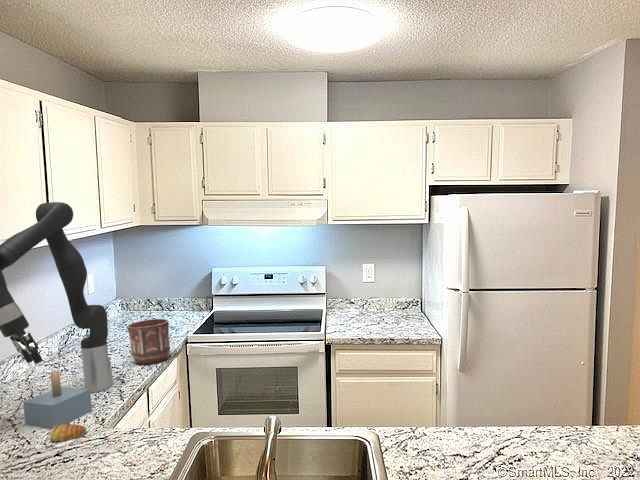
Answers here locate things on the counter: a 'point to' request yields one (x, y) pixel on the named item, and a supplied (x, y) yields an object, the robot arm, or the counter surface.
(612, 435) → the counter surface
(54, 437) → the pastry
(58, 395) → the cover
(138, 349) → the pottery
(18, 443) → the counter surface
